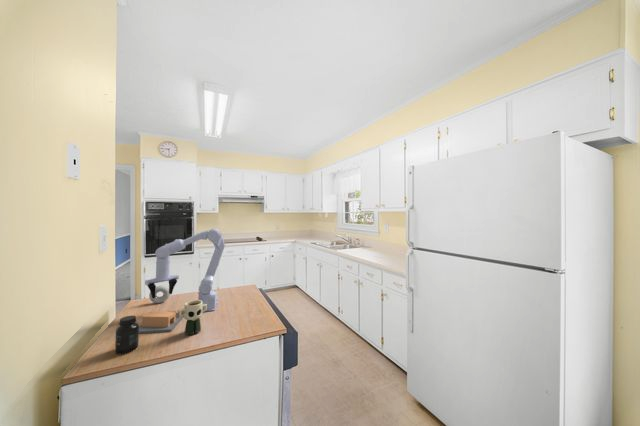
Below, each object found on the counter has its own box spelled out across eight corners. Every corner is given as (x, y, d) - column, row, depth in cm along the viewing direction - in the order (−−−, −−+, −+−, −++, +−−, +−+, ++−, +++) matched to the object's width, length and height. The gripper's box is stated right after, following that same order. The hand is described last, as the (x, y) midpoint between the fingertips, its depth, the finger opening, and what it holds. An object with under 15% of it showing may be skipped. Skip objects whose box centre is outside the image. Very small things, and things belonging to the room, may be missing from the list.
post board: (181, 319, 113) (182, 312, 113) (171, 331, 102) (171, 323, 102) (147, 321, 111) (148, 314, 111) (132, 334, 99) (132, 326, 99)
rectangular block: (141, 326, 104) (142, 316, 104) (150, 321, 109) (150, 311, 109) (168, 326, 104) (168, 316, 104) (175, 321, 109) (175, 312, 109)
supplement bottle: (110, 352, 86) (111, 320, 86) (131, 342, 92) (132, 313, 92) (122, 356, 83) (123, 323, 84) (142, 346, 90) (143, 316, 90)
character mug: (180, 339, 95) (181, 308, 95) (177, 333, 101) (177, 303, 101) (208, 331, 103) (209, 302, 103) (203, 325, 108) (204, 297, 108)
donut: (170, 300, 137) (170, 283, 137) (169, 302, 134) (170, 285, 134) (149, 303, 132) (149, 286, 132) (148, 305, 129) (148, 287, 129)
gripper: (148, 273, 111) (147, 301, 111) (181, 268, 122) (180, 293, 122) (143, 271, 115) (143, 298, 115) (175, 266, 127) (175, 290, 127)
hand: (162, 295), depth 119 cm, fingers open, 7 cm apart
